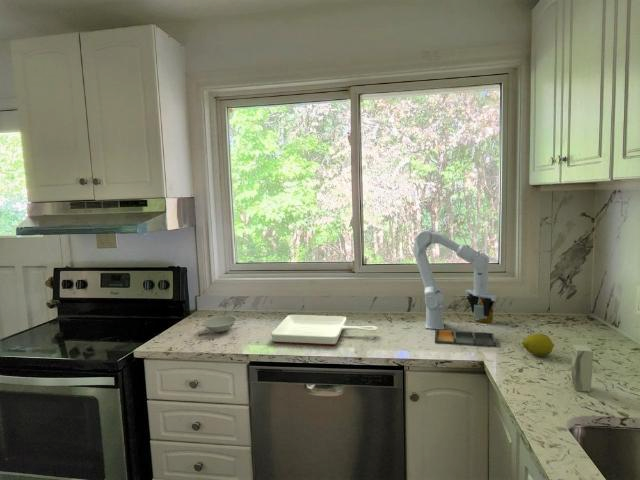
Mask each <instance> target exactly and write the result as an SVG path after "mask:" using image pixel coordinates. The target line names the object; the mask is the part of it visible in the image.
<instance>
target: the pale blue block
mask: <svg viewBox="0 0 640 480" xmlns="http://www.w3.org/2000/svg"><path fill="white" fill-rule="evenodd" d="M473 317H474V319H479V318H484V319H487V316H484V307H483V305H479V304H477V305H474V313H473Z"/></svg>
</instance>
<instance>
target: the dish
mask: <svg viewBox="0 0 640 480" xmlns="http://www.w3.org/2000/svg"><path fill="white" fill-rule="evenodd" d="M237 321H238V317H237V316H234V315H220V316H219V315H218V316H215V317H211V318H209V319H208V318H207V319H206V320H204V321H203V322H202V325H203V327H205V328H206V329H208V330H209V331H211V332H214V333H215V332H216V333H222V332H225V331H227V330H229V329H230V328H232V327H233V326H234V324H235V323H236V322H237Z"/></svg>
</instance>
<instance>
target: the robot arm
mask: <svg viewBox="0 0 640 480" xmlns="http://www.w3.org/2000/svg"><path fill="white" fill-rule="evenodd" d="M434 244H435V245H436V244H440V245H442V246H444V247H446V248H448V249H450V250H452V251H453V252H454V253H456V255H457V257H458V258H460V259H463V260H464V261H466V262H467V263H470V264H472V266H473V267H474V268H473V289H466V290H465V295H467V296H466V300H468V302H469V306H470V308H471V312H472V313H473V314H474V305H479V303H478V302H479V300H480V297H481V298H485V299H486V300H482V303H483V307H484V316H489V313H490V309H491V307H492V305H493V306H494V304H495V302H497V299H498V298H497V296H498V295H494V294H492V293H489V263H490V258H489V256H488V255H487V254H486V253H483V252H482V253H481V251H479V250H478V251H477V250H475V249H474V248H471V245H469V244H467V245H466V244H461V245H460V244H458V243H457V242H455V241H454V240H451V239H450V238H449V237H447V236H445V235H443V234H442V233H440V232H438V231H435V230H434V229H432V228H427V229H425V230H420V231H419V232H418V233H417V234H416V235H415V237H414V244H413V247H412V248H413V249H412V251H413V252H412V253H413V254H414V255H413V256H414V258H415V262H416V265H417V267H418V270H419V274H420V277H421V281H422V284H423V287H424V294H423V295H424V303H425V307H426V309H425V310H426V311H425V312H426V313H425V314H426V316H425V318H426V319H425V320H426V321H425V324H424V325H425V326H424V328H425V329H431V330H445V327H444V326H445V325H444V317H443V316H444V315H443V314H444V306H443V304H442V303H443V302H444V300H445V296H444V293H442V292H441V289H440V287H439V286H438V285H437V284H436V280H435V277H434V274H433V270H432V268H431V265H430V264H431V263H430V261H429V258H428V255H427V252H426V251H427V250H428V248H429V246H430V245H434Z"/></svg>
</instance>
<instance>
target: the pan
mask: <svg viewBox="0 0 640 480" xmlns="http://www.w3.org/2000/svg"><path fill="white" fill-rule="evenodd" d="M347 318H348V317H346V316H341V315H340V316H339V315H309V314H308V315H307V314H302V315H301V314H290V315H289V314H288V315H287V316H286V317H285V318H284V319H283V320H282V321H281V322H280V323H279V324H278V326H276V327H275V328H274V329H273V331H271V333H270V335H271V337H272V340H273V342H274V344H278V345H279V344H282V345H283V344H285V345H304V346H305V345H306V346H325V347H335V346H336V344H337V342H338V340H339V338H340V336H341V334H342V332H343V330H360V331H367V332H368V331H369V332H375V331H377V330H378V329H379V328H378V327H377V326H374V325H365V326H364V325H363V326H360V325H359V326H357V325H356V326H353V325H352V326H350V325H346V322H347Z"/></svg>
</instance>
